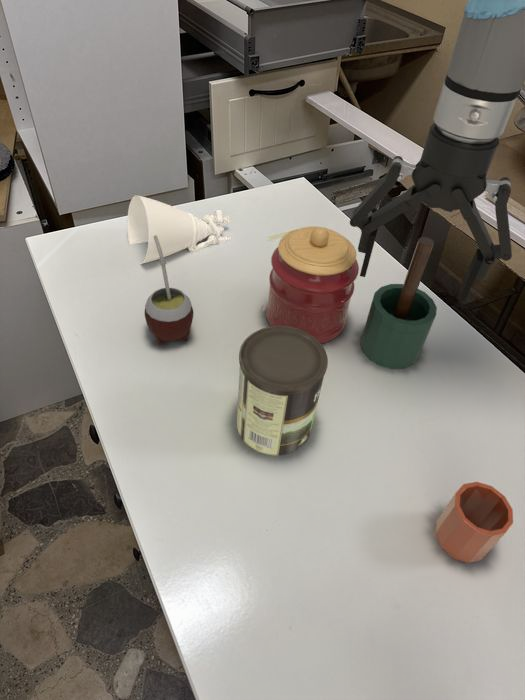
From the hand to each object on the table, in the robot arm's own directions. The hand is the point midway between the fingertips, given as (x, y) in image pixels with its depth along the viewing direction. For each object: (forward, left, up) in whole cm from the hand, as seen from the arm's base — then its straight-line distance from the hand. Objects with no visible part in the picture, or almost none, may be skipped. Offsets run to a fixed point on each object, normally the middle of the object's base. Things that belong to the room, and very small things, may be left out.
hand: (412, 282), depth 72 cm
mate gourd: (+33, +9, -14) cm, 37 cm away
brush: (0, 0, -13) cm, 13 cm away
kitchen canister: (+14, -2, -14) cm, 20 cm away
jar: (0, 0, -14) cm, 14 cm away
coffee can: (+13, +20, -14) cm, 28 cm away
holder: (-12, +28, -14) cm, 33 cm away
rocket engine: (+39, -12, -14) cm, 43 cm away
